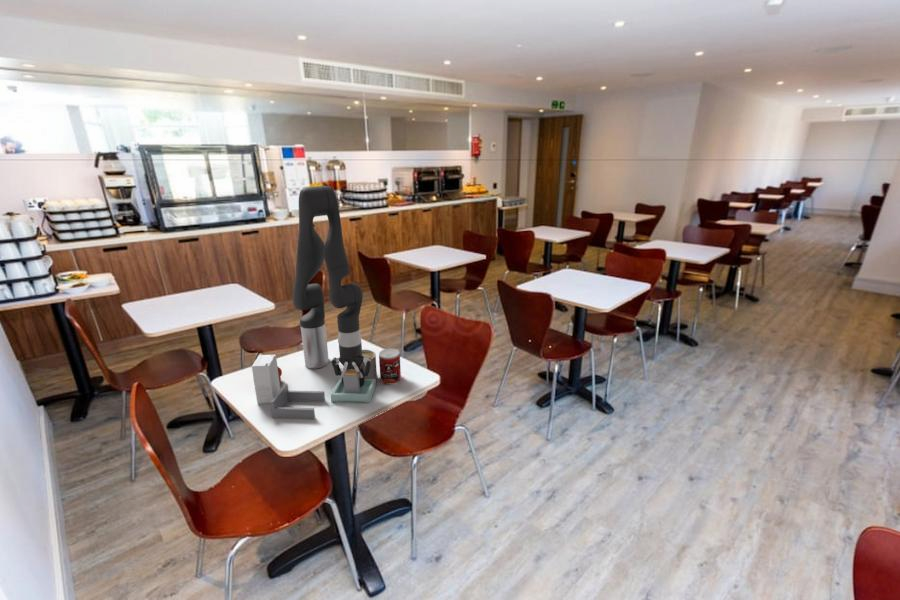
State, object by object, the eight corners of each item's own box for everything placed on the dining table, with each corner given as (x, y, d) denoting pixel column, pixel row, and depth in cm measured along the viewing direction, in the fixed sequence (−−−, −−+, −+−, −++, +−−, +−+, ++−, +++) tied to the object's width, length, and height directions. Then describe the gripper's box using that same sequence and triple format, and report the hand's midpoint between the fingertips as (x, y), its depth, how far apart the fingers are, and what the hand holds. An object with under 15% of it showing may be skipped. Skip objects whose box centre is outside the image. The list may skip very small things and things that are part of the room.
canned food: (379, 384, 155) (377, 357, 151) (381, 374, 162) (380, 348, 158) (399, 384, 155) (398, 357, 151) (401, 373, 162) (400, 348, 159)
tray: (340, 385, 154) (340, 378, 153) (375, 386, 153) (375, 379, 152) (331, 402, 143) (330, 394, 143) (369, 403, 143) (368, 395, 142)
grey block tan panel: (349, 384, 151) (347, 365, 148) (363, 384, 150) (361, 366, 148) (344, 393, 145) (342, 374, 143) (358, 393, 145) (357, 374, 142)
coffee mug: (380, 382, 156) (378, 358, 153) (353, 388, 152) (351, 363, 149) (370, 366, 168) (368, 344, 164) (345, 372, 163) (343, 348, 160)
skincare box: (264, 391, 150) (258, 354, 145) (281, 390, 150) (276, 353, 145) (256, 404, 142) (250, 365, 137) (275, 403, 142) (269, 364, 138)
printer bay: (286, 399, 145) (284, 384, 143) (325, 400, 145) (323, 384, 143) (272, 418, 135) (270, 401, 133) (314, 419, 134) (312, 403, 132)
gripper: (373, 337, 145) (376, 380, 151) (332, 336, 146) (336, 379, 151) (368, 346, 138) (371, 391, 144) (325, 345, 139) (330, 390, 144)
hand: (353, 385), depth 147 cm, fingers closed on grey block tan panel, 5 cm apart
